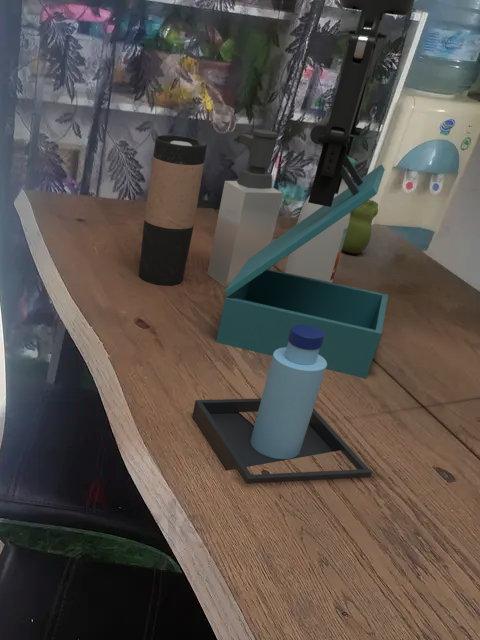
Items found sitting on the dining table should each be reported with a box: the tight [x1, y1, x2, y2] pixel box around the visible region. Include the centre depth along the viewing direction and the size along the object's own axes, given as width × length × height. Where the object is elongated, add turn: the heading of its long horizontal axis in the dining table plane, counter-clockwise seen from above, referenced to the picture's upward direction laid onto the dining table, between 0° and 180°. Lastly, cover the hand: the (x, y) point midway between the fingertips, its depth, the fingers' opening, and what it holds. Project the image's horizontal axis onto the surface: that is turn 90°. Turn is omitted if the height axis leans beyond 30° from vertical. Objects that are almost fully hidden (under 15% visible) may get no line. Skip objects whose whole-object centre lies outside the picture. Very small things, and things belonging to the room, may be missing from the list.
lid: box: [224, 117, 386, 296], centre depth 92 cm, size 20×16×10 cm
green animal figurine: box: [342, 199, 379, 255], centre depth 137 cm, size 6×5×10 cm
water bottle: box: [251, 325, 327, 460], centre depth 73 cm, size 5×5×13 cm
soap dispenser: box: [206, 129, 284, 287], centre depth 114 cm, size 6×9×22 cm
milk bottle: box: [284, 156, 357, 283], centre depth 114 cm, size 8×8×20 cm
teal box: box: [215, 268, 389, 379], centre depth 99 cm, size 20×16×7 cm
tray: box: [192, 398, 373, 485], centre depth 77 cm, size 15×13×2 cm
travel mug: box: [138, 134, 208, 286], centre depth 112 cm, size 8×8×20 cm
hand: (323, 197), depth 90 cm, fingers closed on lid, 7 cm apart
